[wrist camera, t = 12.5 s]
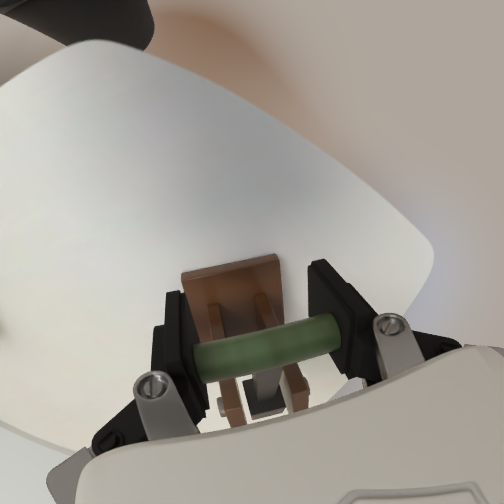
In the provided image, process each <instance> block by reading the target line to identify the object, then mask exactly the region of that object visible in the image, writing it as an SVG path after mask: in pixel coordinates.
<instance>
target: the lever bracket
mask: <svg viewBox="0 0 504 504" xmlns="http://www.w3.org/2000/svg"><path fill="white" fill-rule="evenodd" d="M181 282H182V286H183V289H184V293H185V294H186V297H187V300H188V303H189V307H190V310H191V313H192V316H193V320H194V323H195V326H196V329H197V332H198V336H199V339H200V342H201V343H204V342H209V341H214V340H219V339H224V338H228V337H233V336H237V335H242V334H246V333H251V332H255V331H259V330H263V329H268V328H272V327H276V326H280V325H284V324H285V323H284V310H283V298H282V285H281V274H280V262H279V259H278V257H277V256H276V254H272V255H267V256H263V257H258V258H253V259H248V260H244V261H239V262H234V263H229V264H224V265H220V266H215V267H210V268H205V269H200V270H196V271H191V272H186V273H182V274H181ZM219 385H220V391H221V396H222V397H219V398H217V405H218V409H219V412H220V415H221V417H226V416H227V419H228V421H229V424H230V426H231V428H234V427H239V426H244V425H247V421H246V417H245V413H244V409H243V405H242V401H241V397H240V393H239V389H238V384H237V380H236V378H232V379H227V380H222V381H219ZM279 385H280V388H281V391H282V395H283V398H284V401H285V404H286V408H287V410H288V413H289V414H291V413H294V412H298V411H301V410H305V409H308V401H309V395H310V388H309V385H308V382H307V380H306V378H305V377H303V375H302V373H301V371H300V369H299V367H298V364H297V363H293V364H289V365H286V366H284V367H283V371H282V374H281V378H280V381H279Z"/></svg>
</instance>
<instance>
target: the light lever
mask: <svg viewBox="0 0 504 504" xmlns="http://www.w3.org/2000/svg"><path fill="white" fill-rule="evenodd" d="M340 347H341V333H340V329H339V326H338V323H337V321H336V319H335V317H334V316H333V315H332V314H331V313H324V314H321V315H317V316H314V317H310V318H306V319H303V320H299V321H295V322H291V323H287V324H284V325H280V326H276V327H272V328H268V329H263V330H259V331H255V332H251V333H246V334H242V335H237V336H233V337H228V338H224V339H219V340H214V341H209V342H204V343H199V344H194V345H193V347H192V352H193V359H194V364H195V368H196V372H197V375H198V378H199V380H200V382H201V383H202V384H207V383H212V382H217V381H222V380H227V379H232V378H237V377H241V376H246V375H250V374H252V379H249V380H245V381H242V383H243V387H244V391H245V395H246V399H247V403H248V406H249V410H250V414H251V418H252V420H255V419H259V418H263V417H267V416H271V415H275V414H279V413H282V412H283V411H284V409H285V408H286V404H285V401H284V398H283V395H282V391H281V388H280V385H279V381H280V378H281V374H282V371H283V367H284V366H286V365H289V364H293V363H297V362H300V361H304V360H307V359H310V358H314V357H317V356H320V355H323V354H327V353H330V352H333V351H336V350H338V349H339V348H340Z"/></svg>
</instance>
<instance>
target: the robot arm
mask: <svg viewBox="0 0 504 504" xmlns="http://www.w3.org/2000/svg"><path fill="white" fill-rule="evenodd" d="M308 312H309V318H310V317H314V316H317V315H321V314H324V313H331V314H332V315H333V316H334V317H335V319H336V321H337V323H338V326H339V329H340V333H341V347H340V348H339V349H338V350H336V351H333V352H330V353H329V354H330V356H331V358H332V359H333V361H334V363H335V365H336V366H337V368H338V370H339V371H340V373H341V374H344V373H345V374H346V376H347V378H348V380H349V379H352V378H355V377H359V378H362V384H363V389H362V390H359V391H357V392H354V393H351V394H349V395H346V396H343V397H341V398H338V399H335V400H332V401H329V402H326V403H323V404H320V405H317V406H314V407H311V408H308V409H305V410H301V411H298V412H294V413H291V414H287V415H284V416H280V417H276V418H273V419H269V420H265V421H261V422H257V423H252V424H248V425H244V426H239V427H234V428H229V429H224V430H219V431H213V432H207V433H200V431H199V429H198V427H197V424H198V423H199V422H200V421H201V420H202V418H206V413H205V410H208V409H210V407H209V400H208V393H207V386H206V384H202V383H201V382H200V380H199V378H198V375H197V372H196V368H195V364H194V359H193V352H192V347H193V345H194V344H199V343H201V342H200V339H199V336H198V332H197V329H196V326H195V323H194V320H193V316H192V313H191V310H190V307H189V303H188V300H187V297H186V294H185V293H181V292H180V290H177V291H172V292H167V293H166V304H165V323H164V325H160V326H155V327H154V331H153V343H152V357H151V371H150V372H147V373H145V374H143V375H142V376H140V377H139V378H138V379H137V380H136V382H135V383H134V387H133V394H134V397H135V399H134V400H133V401H132V402H130V403H129V404H128V405H127V406H126V407H125V408H124V409H123V410H121V411H120V412H119V413H118V414H117V415H116V416H115V417H114V418H112V419H111V420H110V421H109V422H108V423H107V424H106V425H105V426H103V427H102V428H101V429H100V430H99V431H98V432H97V433H96V434H95V435H94V437H93V439H92V445H91V447H89V448H88V449H87V448H86V447H84V448H82V449H81V450H79V451H78V452H77V453H75V454H74V455H72V456H71V457H70V458H68V459H67V460H65V461H64V462H62V463H61V464H59V465H58V466H56V467H55V468H53V469H52V470H51V471H50V472H49V473H48V476H47V480H46V484H47V487H48V489H49V491H50V493H51V495H52V497H53V498H54V500H55V502H56V503H57V504H504V349H503V348H499V347H489V346H477V345H467V344H465V345H464V347H462V346H461V345H460V344H459V342H457V341H456V340H454V339H451V338H447V337H442V336H437V335H432V334H427V333H422V332H417V331H412V330H411V328H410V326H409V324H408V322H407V321H406V319H405V318H403V317H402V316H400V315H398V314H394V313H384V314H380V315H378V314H377V313H376V312H375V311H374V309H373V308H372V307H371V306H370V305H369V304H368V303H367V302H366V300H365V299H364V298H363V297H362V296H361V295H360V294H359V293H358V291H357V290H356V289H355V288H354V287H353V286H352V285H351V284H350V283H346V282H345V280H344V279H343V278H342V277H341V276H340V275H339V274H338V273H337V272H336V270H335V269H334V268H333V267H332V266H331V265H330V264H329V263H328V262H327V261H326V260H325V259H320V260H316V261H312V262H311V265H309V266H308Z"/></svg>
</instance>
